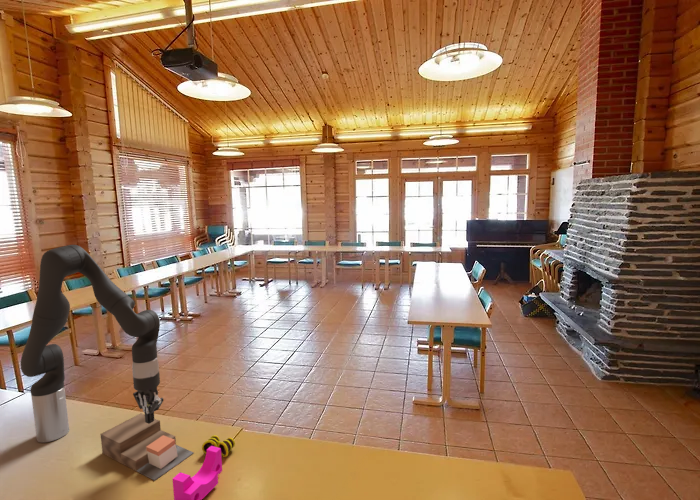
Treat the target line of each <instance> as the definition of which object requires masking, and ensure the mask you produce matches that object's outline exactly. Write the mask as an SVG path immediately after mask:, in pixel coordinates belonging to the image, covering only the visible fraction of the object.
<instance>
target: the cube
mask: <svg viewBox="0 0 700 500" xmlns="http://www.w3.org/2000/svg"><path fill="white" fill-rule="evenodd" d="M176 445H177V442H176V443H175V440H174V439H172V438H169V437H167V436H164V435H163V436H161V437H160V438H158V439H157V440H155V441H154V442H152V443H151V444H149V445H148V446H147V447H146V449H147V454H148V460H149V464H152V465H154V466H156V467H158V468H160V469H162V468H163V467H164V466H165V465H167V464H168V463H169V462H171V461H172V460H173V459H175V458H176V457H177V456H178V455H177V449H176Z"/></svg>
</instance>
